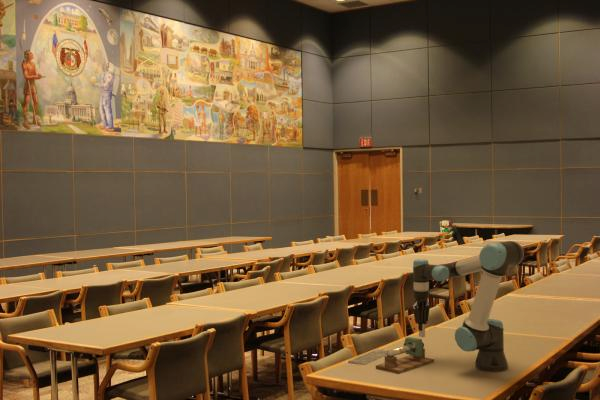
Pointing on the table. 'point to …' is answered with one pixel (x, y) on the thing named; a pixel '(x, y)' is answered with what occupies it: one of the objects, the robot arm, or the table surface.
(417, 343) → the collar
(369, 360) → the keyboard
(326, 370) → the table surface
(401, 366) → the pipe stand
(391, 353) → the steel pipe
